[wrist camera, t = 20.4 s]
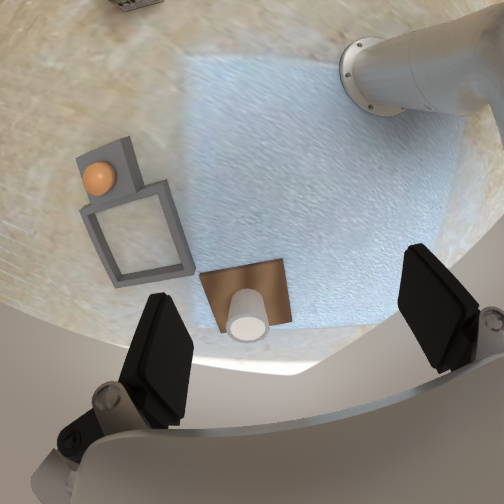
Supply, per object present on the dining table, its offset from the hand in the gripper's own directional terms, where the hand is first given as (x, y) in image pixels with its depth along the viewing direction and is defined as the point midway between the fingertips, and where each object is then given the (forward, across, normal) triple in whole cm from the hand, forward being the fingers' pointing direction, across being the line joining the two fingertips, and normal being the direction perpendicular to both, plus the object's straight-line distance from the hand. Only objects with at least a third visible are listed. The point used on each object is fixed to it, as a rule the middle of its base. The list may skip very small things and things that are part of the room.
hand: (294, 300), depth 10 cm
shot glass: (+30, +6, +24) cm, 39 cm away
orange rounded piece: (+29, +21, -4) cm, 36 cm away
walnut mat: (+30, +6, +24) cm, 39 cm away
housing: (+30, +21, +4) cm, 37 cm away
